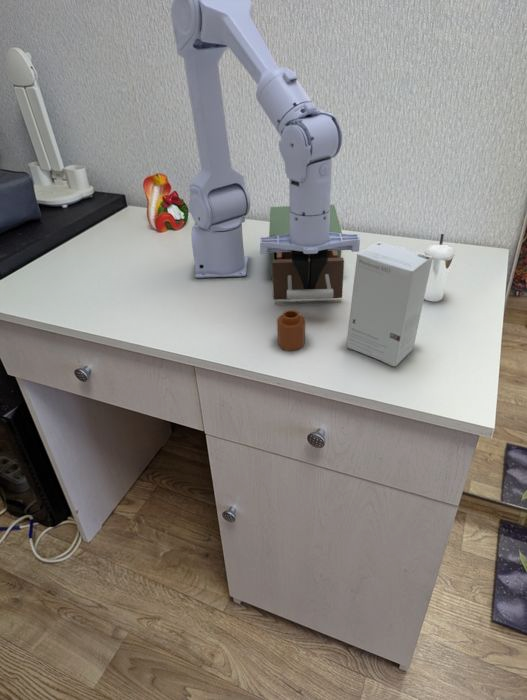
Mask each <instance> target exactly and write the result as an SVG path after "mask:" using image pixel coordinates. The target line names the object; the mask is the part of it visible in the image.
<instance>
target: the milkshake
mask: <svg viewBox="0 0 527 700" xmlns="http://www.w3.org/2000/svg"><path fill="white" fill-rule="evenodd" d="M444 237H445V233H442V232H441V233H440V237H439V243H438V244H437V243H436V244H431V245H429V246H428V247H427V248H425V250H424V255H428V256H431V257H432V263H431V268H430V272H429V277H428V282H427V287H426V291H425V296H424V300H425V301H427V302H431V303H432V302H433V303H434V302H440V301H441V300H443V297H444V294H445V293H444V292H445V289H446V285H447V283H448V278H449V274H450V271H451V268H452V265H453V262H454V259H455V256H456V251H455V249H454V248H453V247H452V246H450V245H447V244H444Z"/></svg>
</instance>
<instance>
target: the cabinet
mask: <svg viewBox="0 0 527 700" xmlns="http://www.w3.org/2000/svg"><path fill="white" fill-rule="evenodd" d="M269 209H270V210H269V228H268V229H269V231H268V232H269V233H268V235H269V236H268V237H272V236H278V235H283V234H289V233H290V205H289V206H288V205H287V206H286V205H285V206H270V207H269ZM329 232H331V233H341V234H343V232H342V228H341V224H340V220H339V217H338V213H337V209H336V206H335V204H330V224H329ZM337 253H338V258H342V250H337ZM269 259H270V260H269V262H270V263H269V265H270V280H272V281H273V268H272V260H277V252H269Z"/></svg>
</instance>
